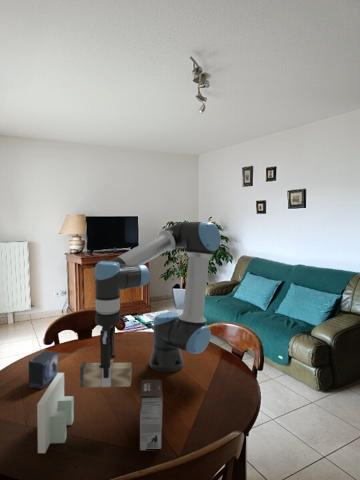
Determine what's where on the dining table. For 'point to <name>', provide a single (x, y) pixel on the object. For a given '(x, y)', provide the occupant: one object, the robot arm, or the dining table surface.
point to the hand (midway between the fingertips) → (107, 382)
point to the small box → (43, 369)
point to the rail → (93, 375)
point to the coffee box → (151, 414)
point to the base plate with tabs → (54, 414)
